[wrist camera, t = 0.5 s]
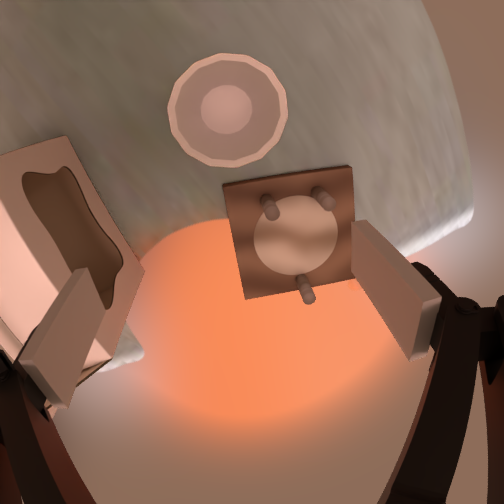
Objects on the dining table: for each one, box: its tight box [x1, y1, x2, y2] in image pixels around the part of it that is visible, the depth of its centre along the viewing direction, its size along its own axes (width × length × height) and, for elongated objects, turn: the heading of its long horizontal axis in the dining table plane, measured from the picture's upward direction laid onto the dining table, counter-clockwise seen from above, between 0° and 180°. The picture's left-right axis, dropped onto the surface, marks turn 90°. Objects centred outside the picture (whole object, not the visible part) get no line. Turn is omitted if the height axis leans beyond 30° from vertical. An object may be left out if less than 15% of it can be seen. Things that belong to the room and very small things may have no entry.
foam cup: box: [167, 53, 288, 168], centre depth 29 cm, size 10×9×13 cm
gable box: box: [0, 135, 145, 418], centre depth 26 cm, size 22×13×28 cm, turn 24°
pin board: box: [223, 165, 355, 304], centre depth 39 cm, size 16×16×6 cm
